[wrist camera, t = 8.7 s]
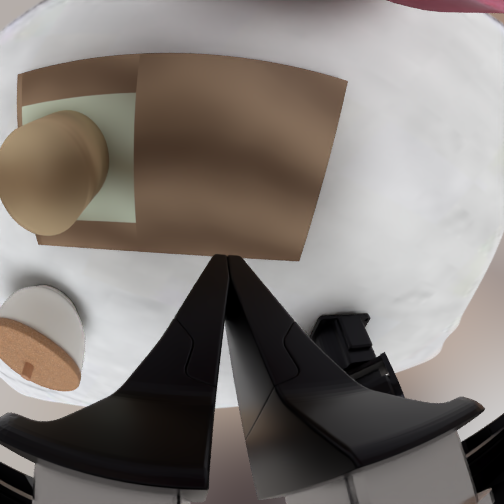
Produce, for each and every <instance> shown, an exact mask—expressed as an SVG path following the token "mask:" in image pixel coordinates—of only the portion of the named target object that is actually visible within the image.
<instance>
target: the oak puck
mask: <svg viewBox="0 0 504 504" xmlns="http://www.w3.org/2000/svg"><path fill="white" fill-rule="evenodd" d="M108 169H109V153H108V147H107V143H106V140H105V138H104V136H103V134H102V132H101V130H100V129H99V127H98V126H97V125H96V124H95V123H94V122H93V121H92V120H91V119H90V118H89V117H87V116H86V115H84V114H82V113H80V112H77V111H72V110H62V111H58V112H54V113H52V114H49V115H47V116H44V117H42V118H39V119H37V120H34V121H32V122H30V123H27V124H25V125H23V126H21V127H19V128H17V129H15V130H14V131H13V132H12V133H11V134H10V135H9V136H8V137H7V138H6V139H5V141H4V143H3V144H2V146H1V148H0V198H1V200H2V203H3V205H4V207H5V208H6V210H7V211H8V213H9V214H10V216H11V217H12V218H13V219H14V220H15V221H16V222H17V223H18V224H19V225H20V226H22V227H23V228H25V229H26V230H28V231H30V232H32V233H35V234H38V235H43V236H52V235H57V234H60V233H62V232H64V231H66V230H67V229H69V228H70V227H71V226H72V225H73V224H74V222H75V221H76V220H77V219H78V217H79V216H80V215H81V213H82V212H83V211H84V209H85V208H86V207H87V206H88V204H89V203H90V202H91V201H92V199H93V198H94V197H95V196H96V194H97V193H98V192H99V191H100V189H101V188H102V186H103V184H104V182H105V180H106V177H107V174H108Z"/></svg>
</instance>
